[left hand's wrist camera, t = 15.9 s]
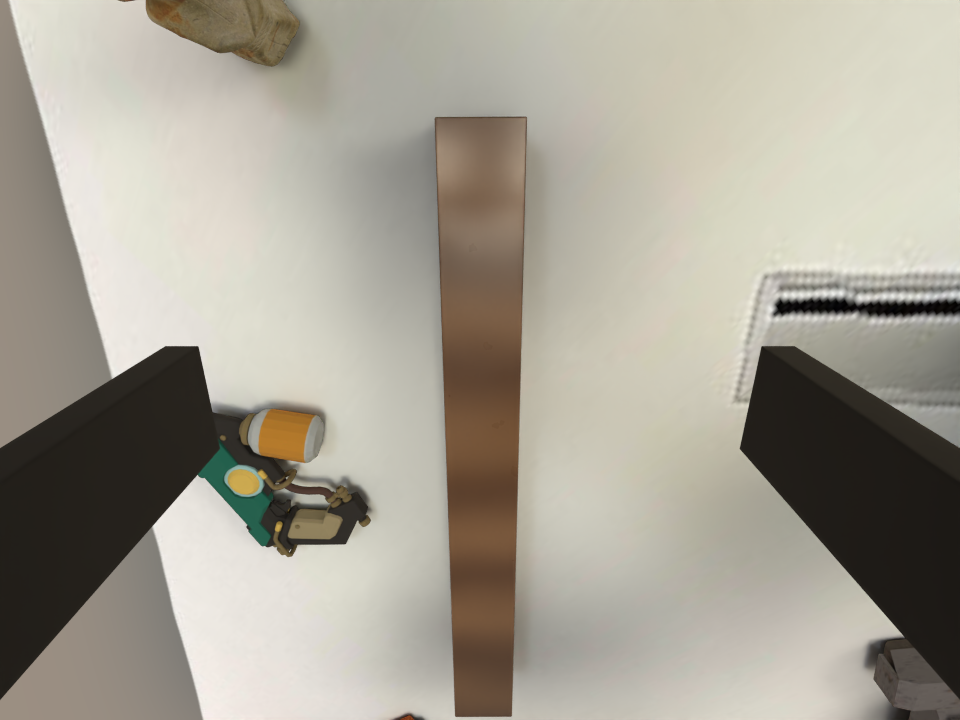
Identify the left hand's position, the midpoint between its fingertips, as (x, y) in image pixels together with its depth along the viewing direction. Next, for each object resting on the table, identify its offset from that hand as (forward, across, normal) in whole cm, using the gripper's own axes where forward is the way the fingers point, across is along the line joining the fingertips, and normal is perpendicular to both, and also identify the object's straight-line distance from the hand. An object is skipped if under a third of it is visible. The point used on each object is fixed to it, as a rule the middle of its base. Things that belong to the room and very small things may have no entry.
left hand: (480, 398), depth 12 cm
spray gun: (+31, -19, -23) cm, 43 cm away
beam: (+31, 0, -19) cm, 37 cm away
